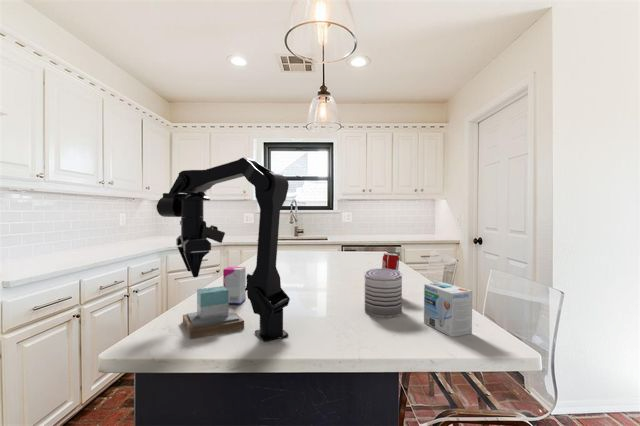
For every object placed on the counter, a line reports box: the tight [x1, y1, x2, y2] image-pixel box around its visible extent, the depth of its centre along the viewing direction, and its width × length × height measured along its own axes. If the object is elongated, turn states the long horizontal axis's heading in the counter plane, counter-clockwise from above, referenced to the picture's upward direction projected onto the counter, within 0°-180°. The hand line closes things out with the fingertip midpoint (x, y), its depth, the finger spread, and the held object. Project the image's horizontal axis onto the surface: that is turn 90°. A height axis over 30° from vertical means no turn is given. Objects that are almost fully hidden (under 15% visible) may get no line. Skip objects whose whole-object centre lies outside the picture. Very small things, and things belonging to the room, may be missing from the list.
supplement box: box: [222, 266, 247, 306], centre depth 106 cm, size 6×6×12 cm
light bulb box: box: [423, 281, 473, 338], centre depth 83 cm, size 11×7×11 cm, turn 21°
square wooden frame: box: [182, 306, 245, 340], centre depth 85 cm, size 13×13×2 cm
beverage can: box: [381, 252, 400, 271], centre depth 114 cm, size 6×6×15 cm
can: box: [363, 267, 404, 318], centre depth 97 cm, size 11×11×12 cm
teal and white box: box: [196, 285, 230, 321], centre depth 85 cm, size 7×5×7 cm
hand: (192, 274), depth 88 cm, fingers open, 9 cm apart
